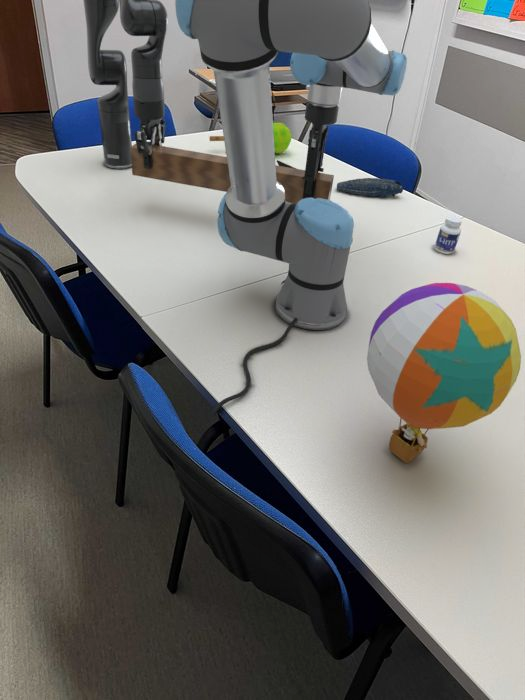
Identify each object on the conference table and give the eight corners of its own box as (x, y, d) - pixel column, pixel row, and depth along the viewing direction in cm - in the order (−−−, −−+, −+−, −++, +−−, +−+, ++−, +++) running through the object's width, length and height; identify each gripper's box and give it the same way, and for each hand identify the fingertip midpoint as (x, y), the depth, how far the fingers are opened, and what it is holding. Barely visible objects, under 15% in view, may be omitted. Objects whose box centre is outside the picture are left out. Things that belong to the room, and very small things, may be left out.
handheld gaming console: (320, 175, 173) (310, 154, 164) (311, 192, 172) (300, 172, 163) (292, 170, 179) (281, 150, 171) (283, 187, 178) (271, 167, 169)
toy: (317, 443, 83) (351, 282, 64) (393, 393, 94) (441, 242, 75) (417, 530, 72) (494, 366, 53) (490, 462, 83) (575, 305, 64)
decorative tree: (206, 116, 188) (287, 116, 194) (207, 146, 195) (285, 145, 200) (212, 130, 175) (298, 130, 180) (212, 162, 181) (296, 160, 186)
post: (329, 202, 135) (334, 175, 130) (326, 210, 131) (331, 181, 127) (140, 169, 143) (138, 141, 139) (132, 175, 140) (130, 147, 135)
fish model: (402, 201, 164) (405, 185, 161) (336, 194, 165) (338, 178, 162) (400, 193, 170) (403, 178, 167) (335, 186, 171) (338, 171, 168)
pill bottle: (433, 251, 139) (442, 220, 133) (435, 243, 143) (444, 213, 137) (453, 256, 138) (464, 225, 132) (454, 247, 142) (465, 217, 136)
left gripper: (147, 88, 134) (150, 154, 145) (121, 100, 123) (127, 171, 134) (174, 92, 133) (176, 159, 144) (150, 105, 122) (154, 176, 133)
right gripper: (313, 93, 127) (301, 186, 141) (299, 109, 113) (287, 211, 127) (344, 97, 125) (329, 191, 140) (333, 114, 112) (317, 216, 126)
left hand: (152, 164), depth 139 cm, fingers closed on post, 5 cm apart
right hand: (309, 200), depth 133 cm, fingers closed on post, 5 cm apart
